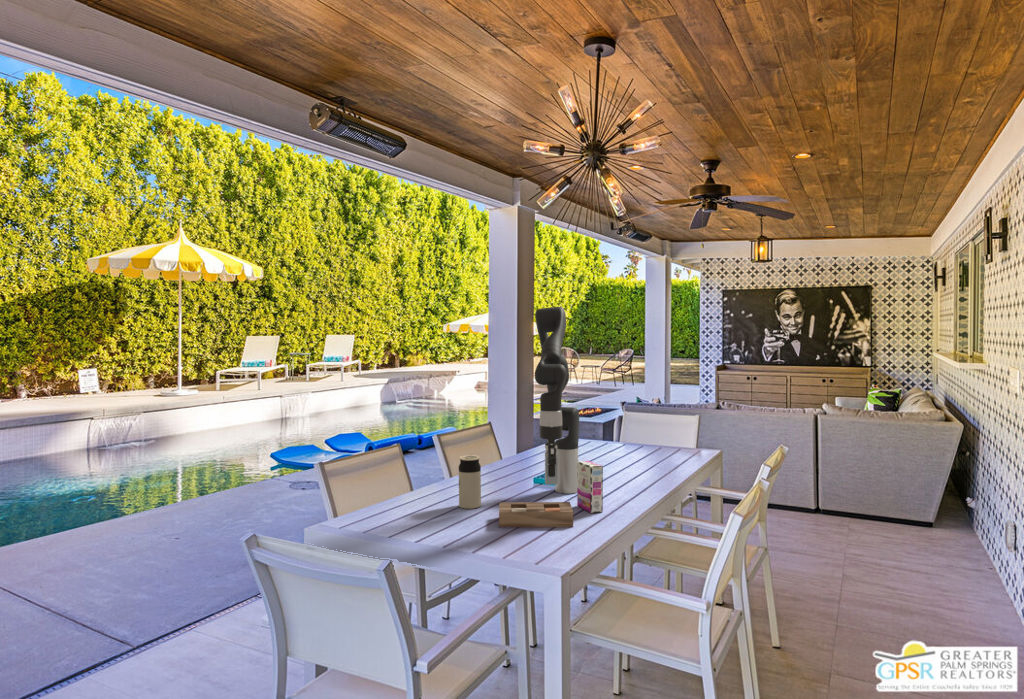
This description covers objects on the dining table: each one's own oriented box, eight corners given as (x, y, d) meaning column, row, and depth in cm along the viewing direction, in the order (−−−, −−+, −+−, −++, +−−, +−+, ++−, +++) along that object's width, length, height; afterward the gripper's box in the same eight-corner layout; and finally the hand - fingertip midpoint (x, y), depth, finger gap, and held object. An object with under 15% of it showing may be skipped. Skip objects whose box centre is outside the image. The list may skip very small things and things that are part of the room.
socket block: (499, 517, 225) (499, 501, 225) (569, 516, 225) (569, 500, 225) (499, 527, 213) (499, 511, 213) (573, 526, 213) (573, 510, 213)
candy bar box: (603, 512, 230) (603, 465, 229) (591, 513, 228) (590, 466, 228) (589, 504, 240) (588, 459, 240) (576, 505, 238) (576, 460, 238)
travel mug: (483, 504, 242) (483, 455, 241) (476, 510, 234) (476, 459, 234) (463, 502, 244) (462, 454, 243) (455, 508, 236) (455, 458, 236)
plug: (544, 481, 222) (544, 452, 221) (556, 481, 222) (556, 452, 221) (545, 484, 218) (545, 454, 217) (557, 484, 218) (557, 454, 217)
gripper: (538, 421, 226) (539, 470, 227) (540, 427, 212) (541, 480, 213) (560, 420, 226) (560, 470, 227) (563, 426, 212) (564, 479, 213)
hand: (551, 474), depth 220 cm, fingers closed on plug, 4 cm apart
